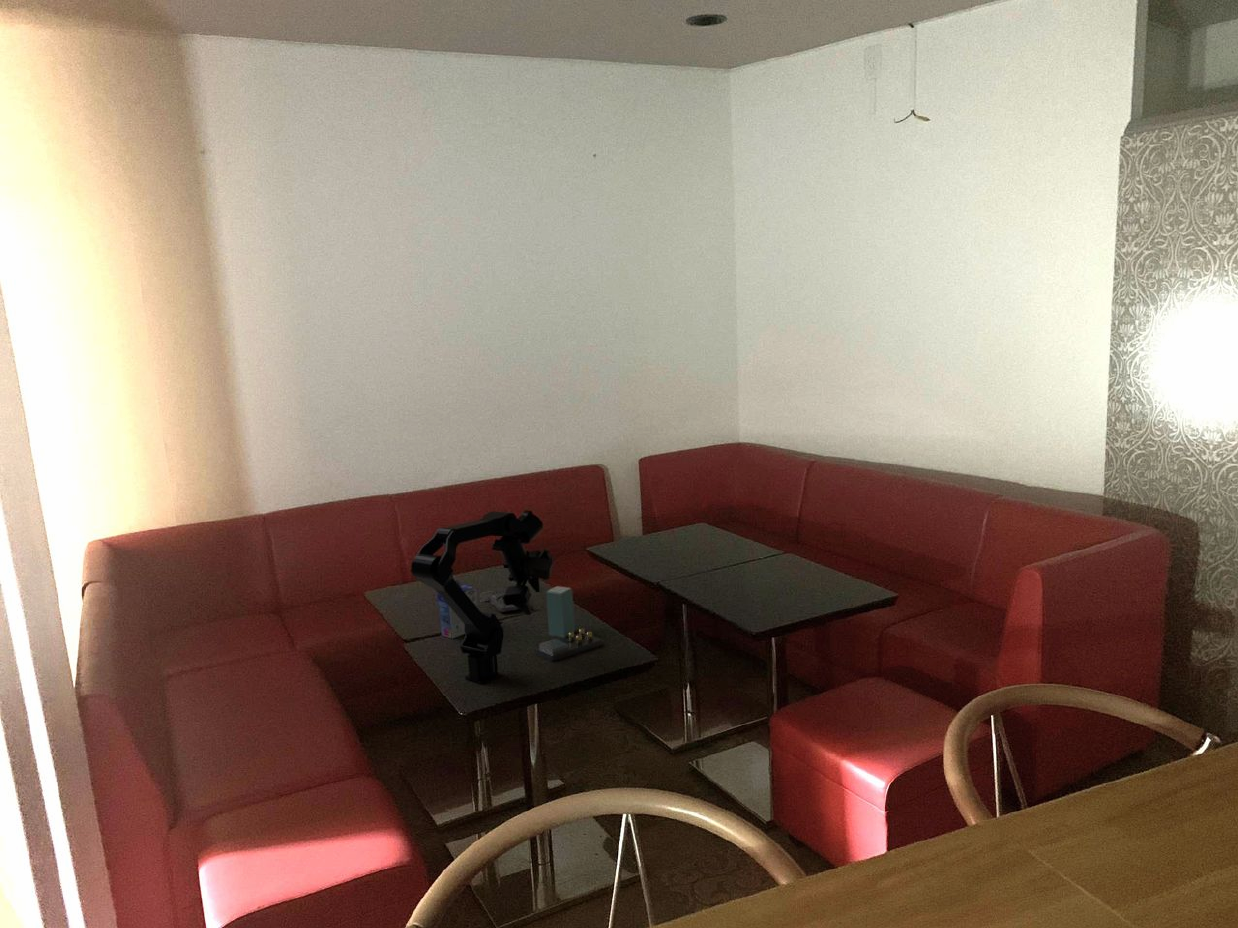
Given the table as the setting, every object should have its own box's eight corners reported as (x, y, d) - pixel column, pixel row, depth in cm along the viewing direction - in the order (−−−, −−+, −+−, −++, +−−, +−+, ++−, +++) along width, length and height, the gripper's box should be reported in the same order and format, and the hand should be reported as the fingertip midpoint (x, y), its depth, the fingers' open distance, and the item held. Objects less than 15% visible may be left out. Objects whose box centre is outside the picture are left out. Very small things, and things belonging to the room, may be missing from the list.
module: (564, 637, 255) (561, 593, 253) (549, 634, 258) (546, 591, 256) (574, 631, 259) (571, 587, 257) (559, 629, 262) (556, 585, 260)
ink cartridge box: (468, 625, 269) (464, 576, 267) (480, 629, 265) (476, 579, 263) (439, 635, 262) (435, 584, 260) (452, 639, 258) (447, 588, 256)
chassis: (552, 661, 238) (551, 648, 237) (534, 653, 244) (533, 640, 244) (602, 644, 248) (601, 632, 247) (584, 637, 254) (583, 625, 253)
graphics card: (478, 592, 290) (516, 585, 294) (479, 603, 291) (517, 596, 295) (491, 608, 274) (531, 600, 279) (493, 620, 275) (532, 612, 279)
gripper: (535, 574, 227) (554, 623, 235) (552, 529, 243) (570, 577, 250) (492, 579, 230) (513, 628, 238) (513, 534, 246) (531, 581, 253)
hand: (533, 602), depth 245 cm, fingers open, 9 cm apart
